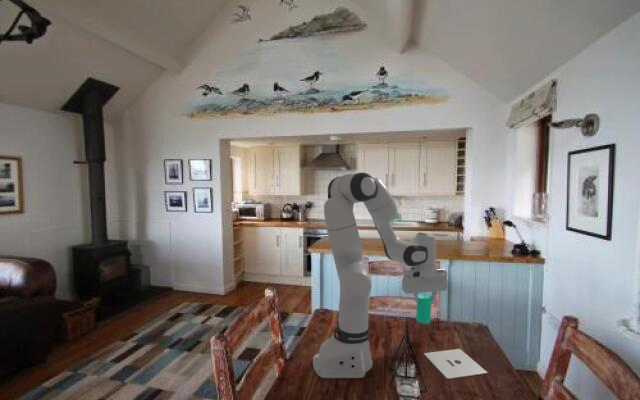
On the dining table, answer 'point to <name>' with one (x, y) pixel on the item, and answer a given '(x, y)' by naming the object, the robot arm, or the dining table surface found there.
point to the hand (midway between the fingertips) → (424, 301)
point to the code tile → (454, 363)
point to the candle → (424, 309)
